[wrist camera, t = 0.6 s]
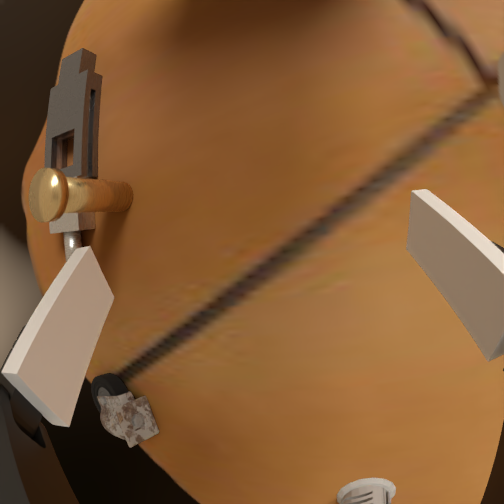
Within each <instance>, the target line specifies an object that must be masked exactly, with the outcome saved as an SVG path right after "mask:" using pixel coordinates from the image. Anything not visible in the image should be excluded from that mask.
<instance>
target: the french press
mask: <svg viewBox="0 0 504 504" xmlns="http://www.w3.org/2000/svg"><path fill="white" fill-rule="evenodd" d="M395 491H396V487H395V486H394V484H393V483H392V482H390V481H388V480H386V479H381V478H367V479H360V480H357V481H354V482H351V483H349V484H347V485H346V486H344V487H343V488H341V489H340V491H339V492H338V494H337V502H338V503H339V504H391V499H392V498H393V496H394V495H395Z"/></svg>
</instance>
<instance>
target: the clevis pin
mask: <svg viewBox="0 0 504 504" xmlns="http://www.w3.org/2000/svg"><path fill="white" fill-rule="evenodd" d="M132 200H133V191H132V188H131V187H130V185H129V184H127V183H126V182H118V181H108V180H97V179H85V178H73V177H66V176H65V174H64V173H63V172H62V171H61V170H59V169H55V168H42V169H40V170H39V171H38V172H37V173H36V174H35V176H34V177H33V179H32V182H31V185H30V190H29V206H30V210H31V213H32V215H33V217H34V218H35V219H36V220H37V221H39V222H52V221H56V220H58V219H59V218H60V217H61V216H62V215H63V213H84V212H115V211H125V210H127V209H128V208H129V207H130V205H131V203H132Z"/></svg>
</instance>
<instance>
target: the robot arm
mask: <svg viewBox="0 0 504 504" xmlns="http://www.w3.org/2000/svg"><path fill="white" fill-rule="evenodd" d="M406 249H407V251H408V252H409V253H410V254H411V255H412V257H413V258H414V259H415V260H416V262H417V263H418V264H419V265H420V267H421V268H422V269H423V270H424V272H425V273H426V274H427V275H428V277H429V278H430V279H431V281H432V282H433V283H434V284H435V286H436V287H437V288H438V290H439V291H440V292H441V294H442V295H443V296H444V298H445V299H446V300H447V302H448V303H449V305H450V306H451V307H452V309H453V310H454V312H455V313H456V314H457V316H458V317H459V319H460V320H461V321H462V323H463V324H464V326H465V327H466V329H467V330H468V332H469V333H470V335H471V336H472V338H473V339H474V341H475V342H476V344H477V345H478V347H479V348H480V350H481V352H482V353H483V355H484V356H485V358H486V359H487V361H491V360H493V359H495V358H497V357H499V356H501V355H503V354H504V248H503V247H501V246H499V245H498V244H496V243H494V242H492V241H490V240H489V239H487V238H486V237H485V236H484V235H483V234H482V233H481V232H480V231H478V230H477V229H476V228H475V227H474V226H473V225H471V224H470V223H469V222H468V221H467V220H465V219H464V218H463V217H462V216H460V215H459V214H458V213H457V212H456V211H454V210H453V209H452V208H451V207H449V206H448V205H447V204H445V203H444V202H443V201H442V200H440V199H439V198H438V197H436V196H435V195H434V194H432V193H431V192H430V191H428V190H427V189H423V190H414V191H411V203H410V217H409V228H408V238H407V247H406ZM113 300H114V296H113V294H112V292H111V289H110V287H109V285H108V283H107V281H106V279H105V277H104V275H103V273H102V271H101V269H100V266H99V264H98V262H97V260H96V258H95V255H94V253H93V251H92V248H91V246H87V247H82V248H78V249H75V251H74V252H73V254H72V255H71V256H70V258H69V259H68V261H67V262H66V264H65V265H64V266H63V268H62V269H61V271H60V272H59V274H58V275H57V277H56V278H55V280H54V281H53V283H52V284H51V286H50V287H49V289H48V290H47V292H46V294H45V295H44V297H43V298H42V300H41V302H40V303H39V305H38V306H37V308H36V310H35V311H34V313H33V315H32V316H31V318H30V320H29V321H28V323H27V324H26V325H25V326H24V327H23V329H22V330H21V332H20V334H19V336H18V337H17V340H16V341H15V343H14V345H13V349H11V350H10V352H9V354H8V356H7V358H6V360H5V362H4V364H3V366H2V368H1V370H0V504H79V502H78V501H77V499H76V497H75V495H74V493H73V491H72V489H71V487H70V485H69V483H68V481H67V479H66V477H65V474H64V472H63V470H62V468H61V466H60V463H59V461H58V459H57V456H56V454H55V451H54V449H53V446H52V444H51V441H50V439H49V436H48V433H47V431H46V428H45V427H44V425H43V424H42V423H41V422H40V420H41V417H42V415H43V416H44V417H45V418H46V419H47V420H48V421H50V423H52V424H53V425H59V426H66V427H69V426H70V422H71V419H72V416H73V412H74V409H75V405H76V402H77V399H78V396H79V393H80V390H81V386H82V383H83V380H84V377H85V374H86V371H87V369H88V366H89V363H90V360H91V357H92V354H93V352H94V349H95V346H96V343H97V341H98V338H99V335H100V333H101V330H102V328H103V325H104V322H105V320H106V317H107V315H108V312H109V310H110V308H111V305H112V303H113ZM503 371H504V369H503ZM481 504H504V422H503V427H502V432H501V436H500V441H499V445H498V449H497V453H496V457H495V461H494V464H493V468H492V471H491V474H490V478H489V481H488V484H487V487H486V490H485V493H484V496H483V498H482V501H481Z"/></svg>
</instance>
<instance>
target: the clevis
mask: <svg viewBox="0 0 504 504" xmlns="http://www.w3.org/2000/svg"><path fill="white" fill-rule="evenodd" d="M95 61H96V54H94V53H92V52H90V51H88V50H86V49H84V48H82V49H80V50H78V51H76V52H75V53H73V54H71V55H69V56H68V57H66V58H64V59H62V64H61V70H60V76H59V83H58V85H57V86H55V87H53V88H52V89H51V92H50V99H49V100H50V101H49V109H48V118H47V129H46V144H45V168H55V169H59V170H61V171H62V172H63V173H64V174H65V176H66V177H73V178H85V179H93V178H94V177H98V127H99V108H100V95H101V83H102V76H101V75H99V74H97V73H95V72H94V69H95ZM73 138H74V155H73V165H72V166H69V167H67V141H68V140H71V139H73ZM49 225H50V234H52V233H61V232H63V235H64V247H65V257H66V262H67V261H68V259H69V258H70V256H71V255H72V254H73V252H74V251H75V249H78V248H82V241H81V230H88V229H95V216H94V212H84V213H63V215H62V216H61V217H60V218H59V219H58V220H56V221H52V222H49Z"/></svg>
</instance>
